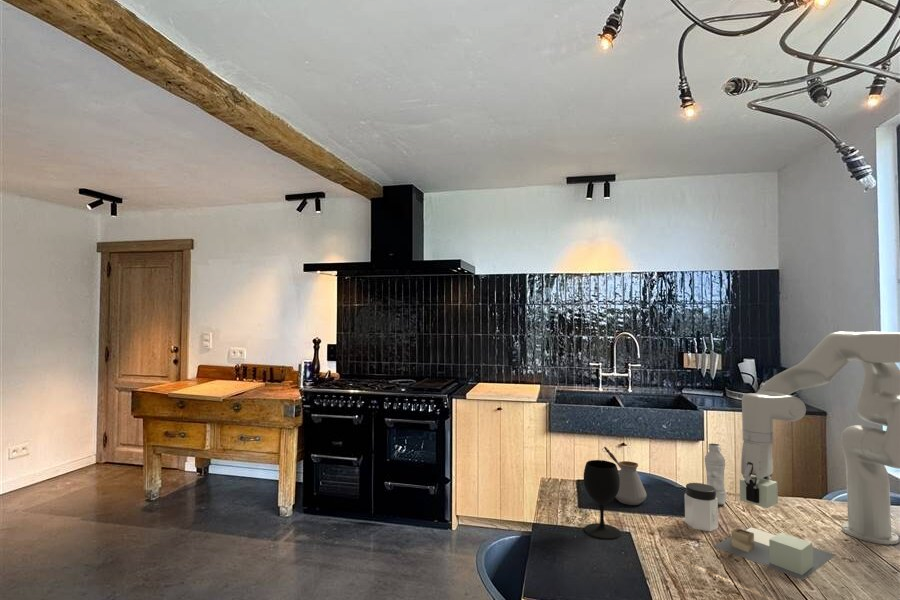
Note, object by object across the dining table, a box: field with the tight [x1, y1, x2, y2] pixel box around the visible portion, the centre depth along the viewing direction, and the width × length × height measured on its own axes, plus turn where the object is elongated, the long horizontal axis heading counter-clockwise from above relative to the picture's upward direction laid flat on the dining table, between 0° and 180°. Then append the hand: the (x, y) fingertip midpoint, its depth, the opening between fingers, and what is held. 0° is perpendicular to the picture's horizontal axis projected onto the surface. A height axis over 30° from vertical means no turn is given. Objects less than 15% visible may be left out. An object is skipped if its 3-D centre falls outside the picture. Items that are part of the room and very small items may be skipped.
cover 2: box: [769, 532, 813, 575], centre depth 120 cm, size 7×7×6 cm
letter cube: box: [730, 527, 754, 552], centre depth 130 cm, size 4×4×4 cm
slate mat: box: [713, 526, 837, 581], centre depth 128 cm, size 22×21×1 cm
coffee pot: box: [601, 446, 648, 506], centre depth 170 cm, size 21×12×15 cm, turn 13°
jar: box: [684, 482, 719, 532], centre depth 144 cm, size 9×8×12 cm
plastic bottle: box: [704, 443, 728, 506], centre depth 163 cm, size 6×7×20 cm
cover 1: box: [739, 474, 779, 509], centre depth 137 cm, size 7×7×6 cm
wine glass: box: [583, 459, 621, 540], centre depth 141 cm, size 10×10×20 cm
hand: (758, 498), depth 136 cm, fingers closed on cover 1, 7 cm apart
